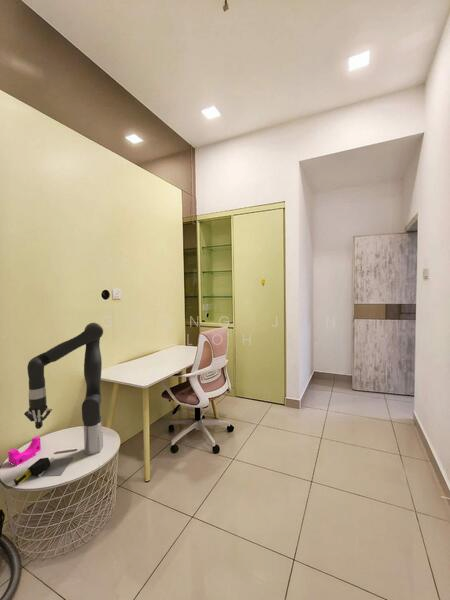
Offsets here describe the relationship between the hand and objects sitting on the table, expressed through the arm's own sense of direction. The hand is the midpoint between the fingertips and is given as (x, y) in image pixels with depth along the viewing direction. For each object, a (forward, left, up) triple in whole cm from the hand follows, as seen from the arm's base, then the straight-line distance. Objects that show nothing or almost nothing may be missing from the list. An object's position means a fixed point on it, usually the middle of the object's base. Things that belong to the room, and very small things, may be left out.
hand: (39, 428), depth 140 cm
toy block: (+12, -10, -22) cm, 27 cm away
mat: (-8, +2, -21) cm, 23 cm away
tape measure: (+2, +7, -19) cm, 20 cm away
